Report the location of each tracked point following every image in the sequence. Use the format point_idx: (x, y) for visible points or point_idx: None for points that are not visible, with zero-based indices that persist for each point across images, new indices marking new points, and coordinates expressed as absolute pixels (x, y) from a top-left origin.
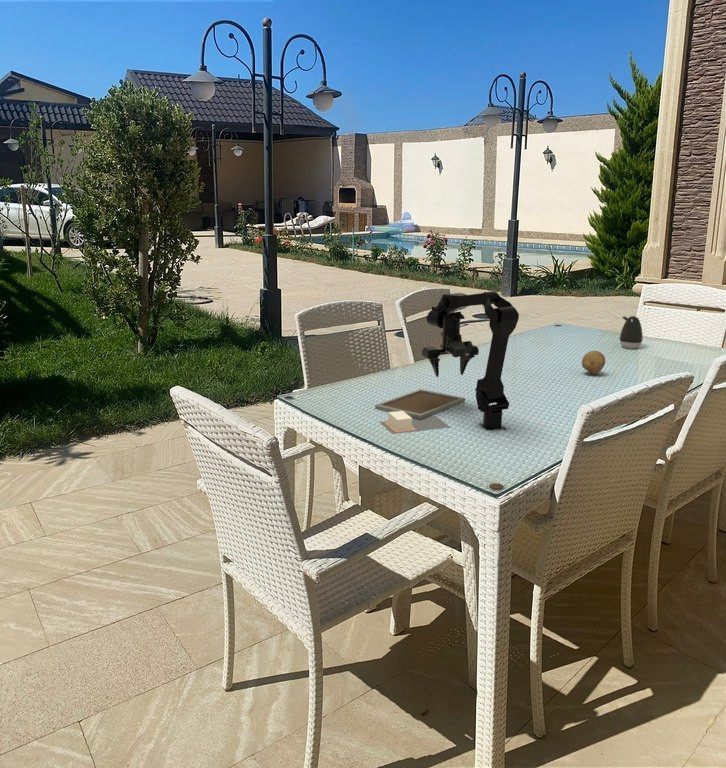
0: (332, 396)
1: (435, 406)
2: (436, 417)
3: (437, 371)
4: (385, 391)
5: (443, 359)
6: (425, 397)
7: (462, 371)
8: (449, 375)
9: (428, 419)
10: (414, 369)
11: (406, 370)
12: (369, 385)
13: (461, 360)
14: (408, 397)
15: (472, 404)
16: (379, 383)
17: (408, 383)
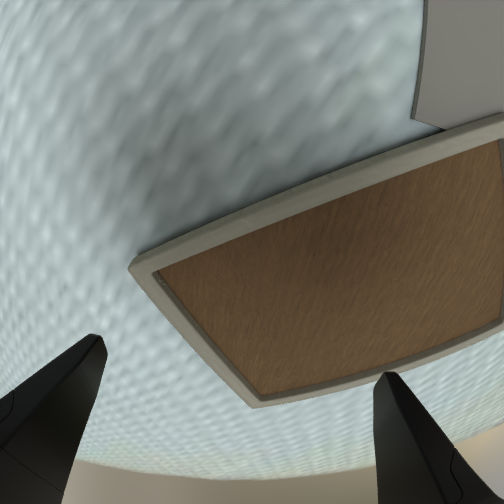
0: (467, 414)
1: (331, 239)
2: (423, 95)
3: (421, 419)
4: (342, 426)
5: (109, 462)
6: (282, 357)
7: (80, 358)
8: (114, 430)
9: (472, 95)
10: (179, 468)
11: (199, 471)
12: (341, 452)
13: (51, 474)
14: (341, 375)
15: (110, 224)
16: (309, 456)
17: (239, 443)
